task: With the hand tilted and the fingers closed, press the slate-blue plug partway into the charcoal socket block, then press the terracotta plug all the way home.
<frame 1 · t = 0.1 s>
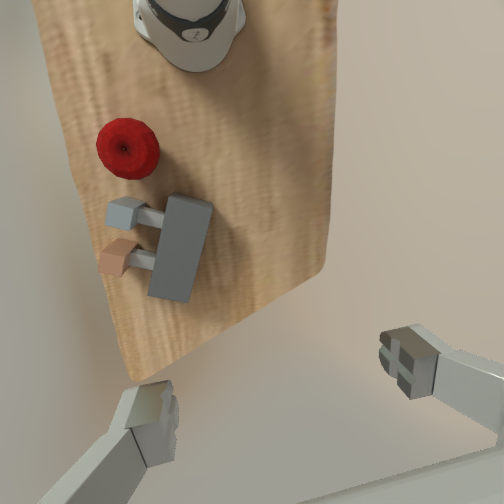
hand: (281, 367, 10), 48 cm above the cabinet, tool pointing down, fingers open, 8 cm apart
socket block: (159, 236, 55), on the cabinet
slate plug: (143, 216, 49), point 5 cm above the cabinet, slide at 0.0 cm
terracotta plug: (135, 259, 51), point 5 cm above the cabinet, slide at 0.0 cm
apple: (140, 152, 49), on the cabinet
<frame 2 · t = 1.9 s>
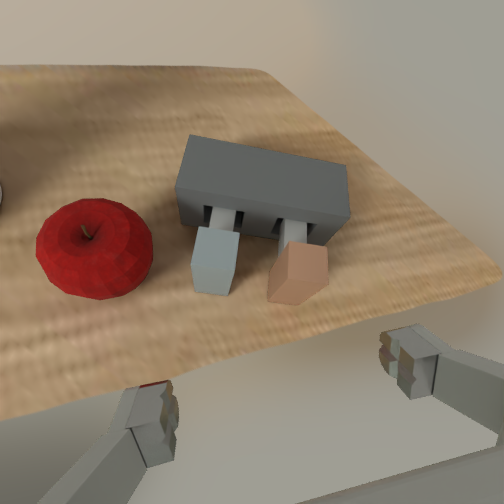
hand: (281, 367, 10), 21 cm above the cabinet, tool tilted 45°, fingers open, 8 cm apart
socket block: (253, 242, 35), on the cabinet
slate plug: (219, 241, 29), point 5 cm above the cabinet, slide at 0.0 cm
terracotta plug: (294, 253, 30), point 5 cm above the cabinet, slide at 0.0 cm
apple: (121, 272, 31), on the cabinet
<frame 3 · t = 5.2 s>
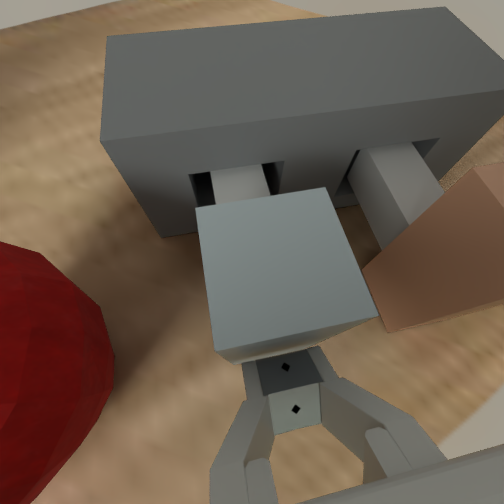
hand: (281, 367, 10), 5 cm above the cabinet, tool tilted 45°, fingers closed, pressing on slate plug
socket block: (305, 225, 18), on the cabinet
slate plug: (252, 239, 12), point 5 cm above the cabinet, slide at 0.2 cm, touching gripper
terracotta plug: (425, 211, 13), point 5 cm above the cabinet, slide at 0.0 cm
apple: (64, 380, 14), on the cabinet
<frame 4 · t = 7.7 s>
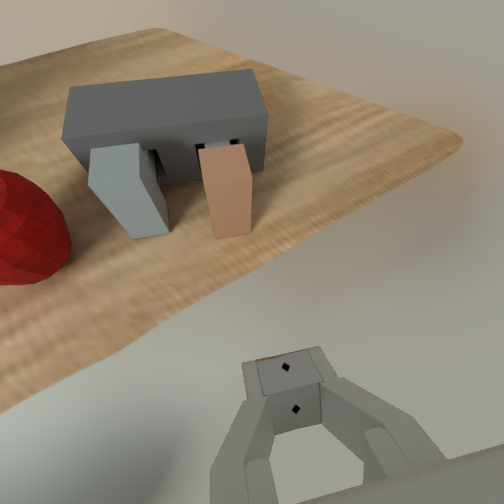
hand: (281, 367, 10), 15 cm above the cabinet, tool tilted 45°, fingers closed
socket block: (186, 187, 32), on the cabinet
slate plug: (135, 173, 27), point 5 cm above the cabinet, slide at 1.7 cm
terracotta plug: (223, 174, 27), point 5 cm above the cabinet, slide at 0.0 cm
apple: (47, 258, 28), on the cabinet
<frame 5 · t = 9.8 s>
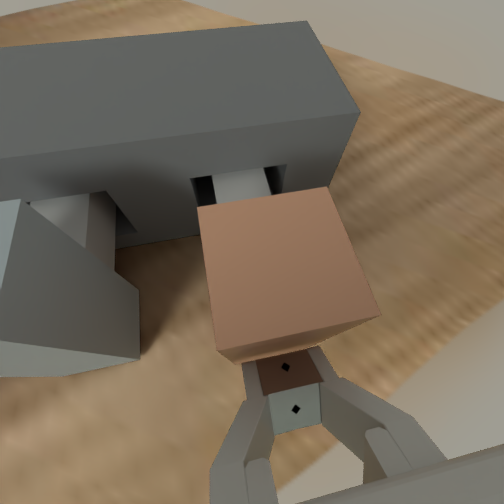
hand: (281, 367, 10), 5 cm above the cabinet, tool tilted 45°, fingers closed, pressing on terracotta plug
socket block: (177, 251, 17), on the cabinet
slate plug: (56, 248, 12), point 5 cm above the cabinet, slide at 1.7 cm
terracotta plug: (253, 239, 12), point 5 cm above the cabinet, slide at 0.4 cm, touching gripper
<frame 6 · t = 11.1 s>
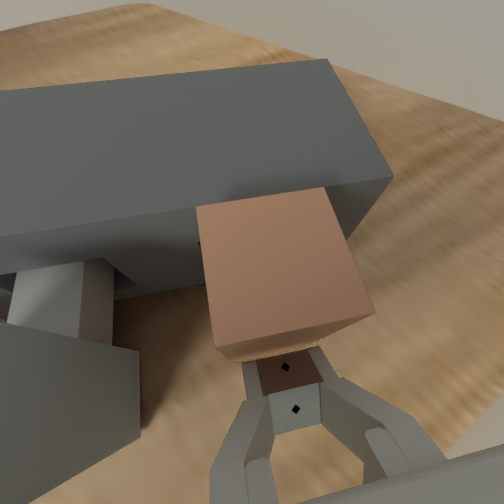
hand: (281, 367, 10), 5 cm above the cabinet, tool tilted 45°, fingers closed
socket block: (182, 303, 16), on the cabinet
slate plug: (46, 326, 10), point 5 cm above the cabinet, slide at 1.7 cm
terracotta plug: (252, 238, 12), point 5 cm above the cabinet, slide at 4.1 cm
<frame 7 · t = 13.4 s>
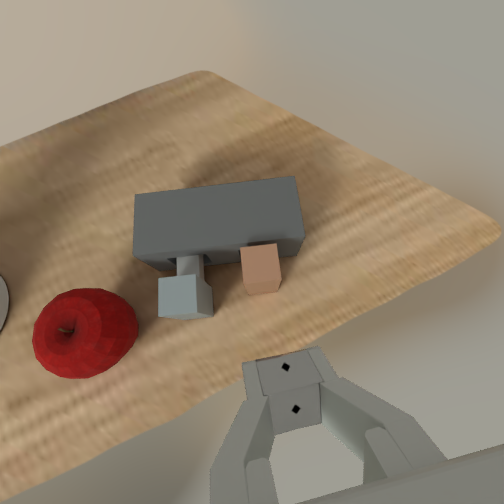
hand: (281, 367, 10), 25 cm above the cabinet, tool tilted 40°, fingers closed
socket block: (228, 270, 37), on the cabinet
slate plug: (188, 275, 32), point 5 cm above the cabinet, slide at 1.7 cm
terracotta plug: (258, 249, 32), point 5 cm above the cabinet, slide at 4.1 cm
apple: (119, 330, 35), on the cabinet
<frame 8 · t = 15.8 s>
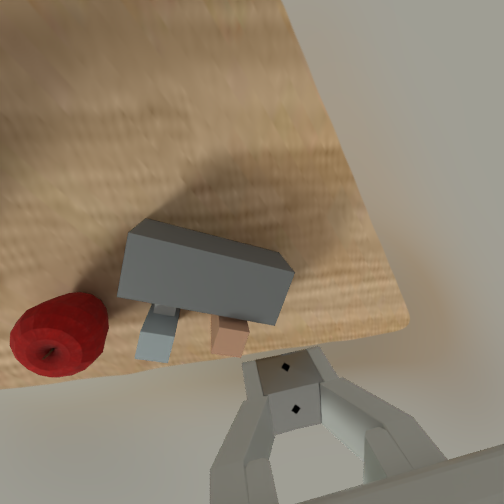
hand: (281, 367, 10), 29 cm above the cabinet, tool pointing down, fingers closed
socket block: (201, 290, 40), on the cabinet
slate plug: (165, 307, 35), point 5 cm above the cabinet, slide at 1.7 cm
terracotta plug: (233, 304, 36), point 5 cm above the cabinet, slide at 4.1 cm
apple: (87, 308, 38), on the cabinet
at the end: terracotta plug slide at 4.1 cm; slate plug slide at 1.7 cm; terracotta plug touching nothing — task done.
